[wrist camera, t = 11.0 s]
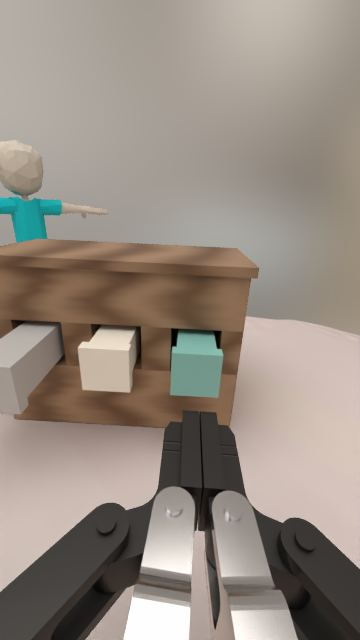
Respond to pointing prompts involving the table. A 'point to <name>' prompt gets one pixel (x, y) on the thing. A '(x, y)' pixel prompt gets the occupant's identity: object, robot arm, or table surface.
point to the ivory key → (110, 358)
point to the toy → (29, 192)
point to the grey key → (27, 361)
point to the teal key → (196, 364)
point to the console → (126, 320)
